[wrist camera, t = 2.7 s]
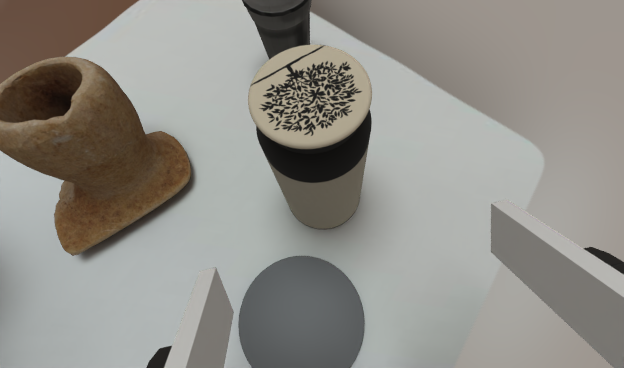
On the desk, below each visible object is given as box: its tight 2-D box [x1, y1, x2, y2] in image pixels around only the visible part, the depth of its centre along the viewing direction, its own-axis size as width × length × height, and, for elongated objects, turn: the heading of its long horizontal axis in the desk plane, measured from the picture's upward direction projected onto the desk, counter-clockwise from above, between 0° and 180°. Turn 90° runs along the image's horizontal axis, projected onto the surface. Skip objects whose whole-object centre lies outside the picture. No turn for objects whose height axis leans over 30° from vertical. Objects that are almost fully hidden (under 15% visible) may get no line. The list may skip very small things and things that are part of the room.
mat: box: [239, 256, 364, 368], centre depth 31 cm, size 12×12×1 cm
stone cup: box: [0, 57, 191, 256], centre depth 32 cm, size 15×12×15 cm
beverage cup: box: [242, 0, 311, 60], centre depth 34 cm, size 7×7×20 cm
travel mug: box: [248, 45, 372, 229], centre depth 28 cm, size 8×8×18 cm
